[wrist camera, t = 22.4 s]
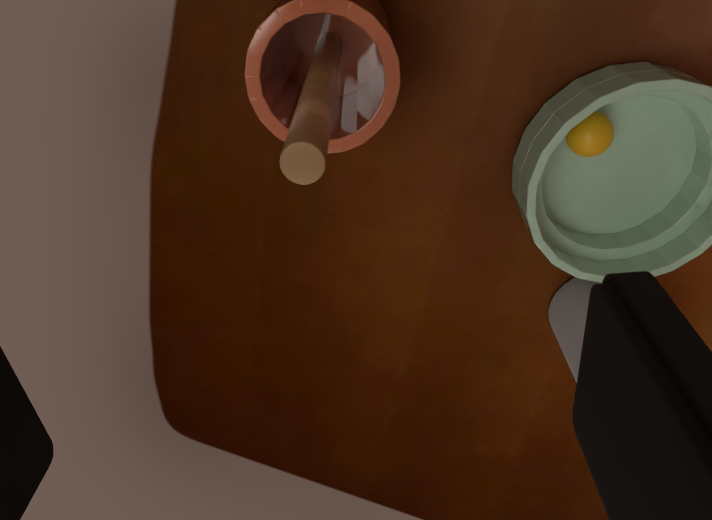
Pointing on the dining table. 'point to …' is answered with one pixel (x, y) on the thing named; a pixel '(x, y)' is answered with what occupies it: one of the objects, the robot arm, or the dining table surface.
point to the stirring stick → (313, 115)
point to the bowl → (620, 174)
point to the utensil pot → (356, 70)
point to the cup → (571, 319)
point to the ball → (591, 135)
